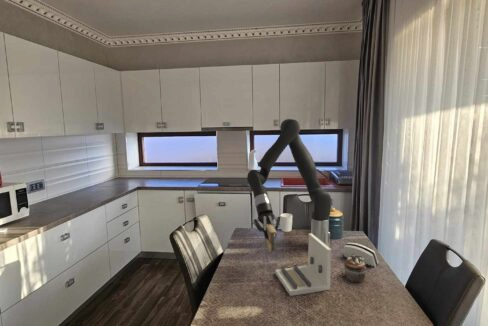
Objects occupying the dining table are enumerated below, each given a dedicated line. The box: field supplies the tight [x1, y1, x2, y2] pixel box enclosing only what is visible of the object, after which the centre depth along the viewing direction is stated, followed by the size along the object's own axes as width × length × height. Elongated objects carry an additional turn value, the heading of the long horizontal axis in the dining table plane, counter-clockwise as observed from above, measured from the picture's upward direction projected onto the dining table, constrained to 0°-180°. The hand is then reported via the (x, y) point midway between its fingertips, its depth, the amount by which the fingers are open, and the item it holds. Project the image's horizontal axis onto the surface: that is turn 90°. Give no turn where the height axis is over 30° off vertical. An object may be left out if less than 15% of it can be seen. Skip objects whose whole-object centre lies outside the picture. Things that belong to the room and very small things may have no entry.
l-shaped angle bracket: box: [275, 232, 332, 297], centre depth 130 cm, size 18×18×18 cm
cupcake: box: [344, 254, 368, 283], centre depth 133 cm, size 10×10×10 cm
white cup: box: [279, 212, 293, 233], centre depth 191 cm, size 8×8×10 cm
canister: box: [329, 207, 345, 240], centre depth 180 cm, size 13×13×18 cm
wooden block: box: [264, 224, 277, 253], centre depth 137 cm, size 3×9×10 cm, turn 12°
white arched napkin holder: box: [343, 242, 380, 268], centre depth 148 cm, size 17×5×10 cm, turn 42°
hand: (271, 238), depth 136 cm, fingers closed on wooden block, 3 cm apart
